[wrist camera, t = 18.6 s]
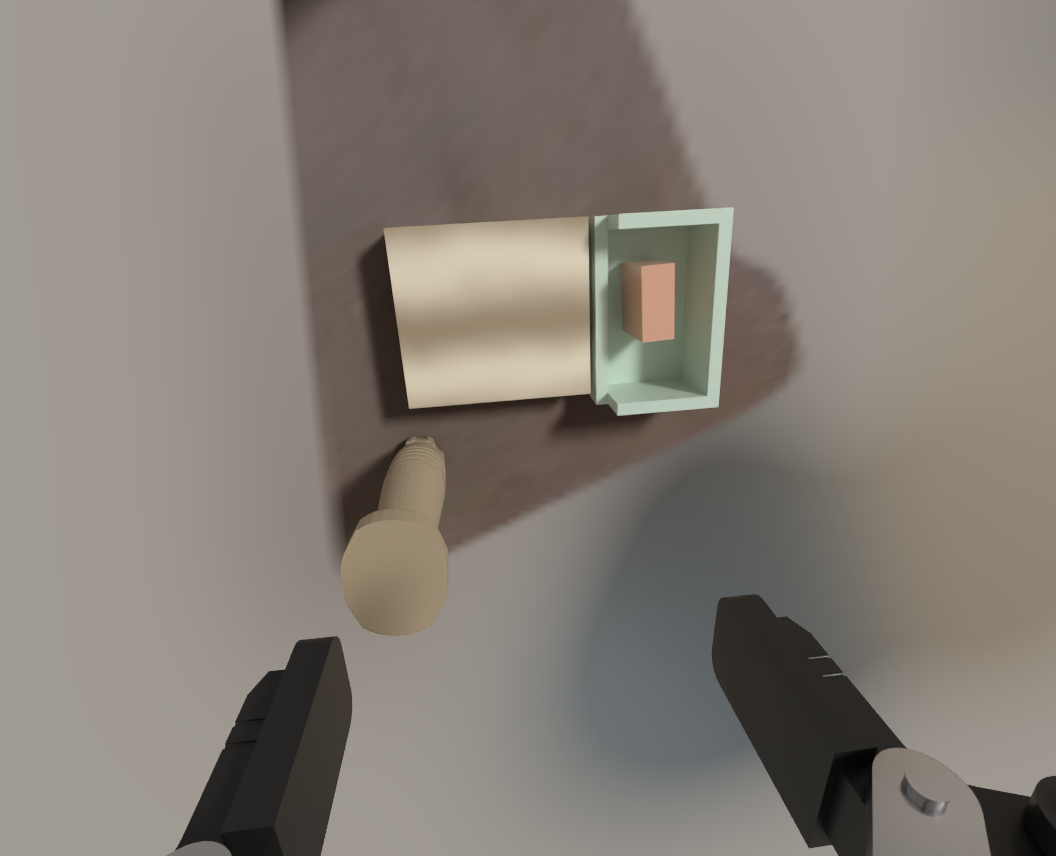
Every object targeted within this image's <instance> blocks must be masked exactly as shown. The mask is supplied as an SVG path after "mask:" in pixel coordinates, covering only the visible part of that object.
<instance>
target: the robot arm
mask: <svg viewBox="0 0 1056 856" xmlns="http://www.w3.org/2000/svg"><path fill="white" fill-rule="evenodd" d="M712 662H713V667H714V671H715V675H716V678H717V680H718V682H719V684H720V686H721V688H722V690H723V691H724V693H725V695H726V697H727V699H728V701H729V703H730V704H731V706H732V708H733V710H734V712H735V714H736V715H737V717H738V719H739V721H740V723H741V725H742V726H743V728H744V730H745V732H746V734H747V735H748V737H749V739H750V741H751V743H752V745H753V747H754V748H755V750H756V752H757V754H758V756H759V757H760V759H761V761H762V763H763V765H764V767H765V769H766V770H767V772H768V774H769V776H770V778H771V780H772V781H773V783H774V785H775V787H776V789H777V791H778V792H779V794H780V796H781V798H782V800H783V801H784V803H785V805H786V807H787V809H788V811H789V812H790V814H791V816H792V818H793V820H794V821H795V823H796V825H797V827H798V829H799V831H800V833H801V835H802V836H803V838H804V840H805V842H806V844H807V845H808V847H809V848H813V847H820V846H827V845H833V847H834V849H835V850H836V852H837V854H838V856H1056V776H1051V777H1046V778H1044V779H1042V780H1040V781H1039V782H1038V784H1037V785H1036V788H1035V790H1034V792H1033V794H1032V796H1031V797H1028V796H1023V795H1017V794H1012V793H1007V792H1001V791H996V790H991V789H985V788H980V787H975V786H971V785H967V784H966V783H965V782H964V781H963V780H962V779H961V778H960V777H959V776H958V775H957V774H956V773H954V772H953V771H952V770H951V769H949V768H948V767H947V766H945V765H944V764H942V763H941V762H939V761H937V760H935V759H934V758H932V757H930V756H928V755H925V754H923V753H920V752H917V751H914V750H910V749H907V748H906V747H905V746H904V745H903V744H902V743H901V741H900V740H899V739H898V738H897V737H896V735H895V734H894V733H893V732H892V731H891V729H890V728H889V727H888V726H887V725H886V723H885V722H884V721H883V720H882V719H881V717H880V716H879V715H878V714H877V713H876V711H875V710H874V709H873V708H872V707H871V705H870V704H869V703H868V702H867V701H866V699H865V698H864V697H863V696H862V695H861V693H860V692H859V691H858V690H857V688H856V687H855V686H854V685H853V684H852V683H851V681H850V680H849V679H848V678H847V676H843V673H842V670H841V669H840V668H839V667H838V666H837V664H836V663H835V662H834V661H833V660H832V659H829V657H828V654H827V652H826V651H825V650H824V649H823V648H822V646H821V645H820V644H819V643H818V642H817V640H816V639H815V638H814V637H813V636H812V634H811V633H809V632H808V631H806V630H805V629H804V628H802V627H801V626H799V625H798V624H796V623H795V622H793V621H792V620H791V619H789V618H788V617H779V618H777V617H776V616H775V614H774V613H773V612H772V610H771V609H770V608H769V607H768V605H767V604H766V603H765V602H764V600H763V599H762V598H761V597H760V596H758V595H756V594H752V595H742V596H734V597H733V596H732V597H724V598H721V599H720V600H719V602H718V607H717V615H716V623H715V630H714V638H713V646H712ZM351 716H352V693H351V687H350V683H349V679H348V673H347V669H346V664H345V659H344V655H343V651H342V646H341V642H340V639H339V638H338V637H337V636H335V637H325V638H316V639H306V640H299V641H298V642H297V643H296V645H295V647H294V649H293V651H292V654H291V656H290V659H289V662H288V664H287V666H286V669H285V670H277V671H269V672H268V673H267V674H266V675H265V676H264V677H263V679H262V680H261V681H260V682H259V683H258V684H257V685H256V686H255V687H254V688H253V690H252V691H251V692H250V693H249V694H248V695H247V698H246V699H245V702H244V704H243V706H242V708H241V711H240V713H239V715H238V717H237V719H236V721H235V722H236V724H235V727H233V728H232V730H231V732H230V734H229V737H228V739H227V741H226V743H225V745H226V746H225V749H223V750H222V752H221V754H220V757H219V759H218V761H217V763H216V765H215V767H214V770H213V772H212V774H211V776H210V778H209V781H208V783H207V785H206V787H205V789H204V791H203V793H202V796H201V798H200V800H199V802H198V804H197V807H196V809H195V811H194V813H193V816H192V818H191V820H190V822H189V824H188V826H187V829H186V831H185V833H184V835H183V837H182V839H181V841H180V843H179V845H178V847H177V848H176V850H175V851H174V852H172V853H171V854H169V855H167V856H321V851H322V846H323V843H324V838H325V834H326V829H327V825H328V821H329V816H330V812H331V807H332V803H333V799H334V794H335V790H336V785H337V781H338V776H339V772H340V768H341V764H342V759H343V755H344V750H345V746H346V741H347V737H348V733H349V728H350V723H351Z"/></svg>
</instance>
